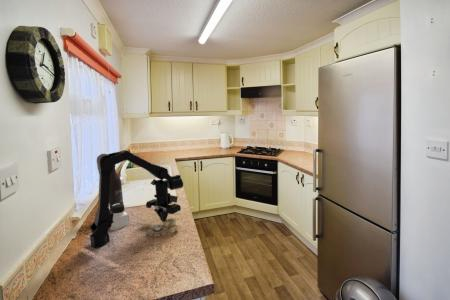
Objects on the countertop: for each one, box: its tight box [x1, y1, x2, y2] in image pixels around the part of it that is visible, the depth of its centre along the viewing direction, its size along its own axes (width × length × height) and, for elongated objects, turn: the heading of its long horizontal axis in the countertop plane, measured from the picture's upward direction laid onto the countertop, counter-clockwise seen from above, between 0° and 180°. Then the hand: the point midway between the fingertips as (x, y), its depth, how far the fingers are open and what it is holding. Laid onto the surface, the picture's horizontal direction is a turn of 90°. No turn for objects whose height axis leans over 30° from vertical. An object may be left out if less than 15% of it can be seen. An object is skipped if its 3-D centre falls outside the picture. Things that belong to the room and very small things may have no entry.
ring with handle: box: [147, 217, 177, 238], centre depth 124 cm, size 15×9×3 cm, turn 145°
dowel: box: [173, 223, 179, 233], centre depth 121 cm, size 2×2×3 cm
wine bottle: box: [109, 164, 124, 210], centre depth 143 cm, size 7×7×30 cm
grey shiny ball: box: [153, 224, 162, 232], centre depth 121 cm, size 3×3×3 cm
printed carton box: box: [110, 203, 130, 231], centre depth 130 cm, size 7×7×12 cm
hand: (164, 222), depth 129 cm, fingers closed
